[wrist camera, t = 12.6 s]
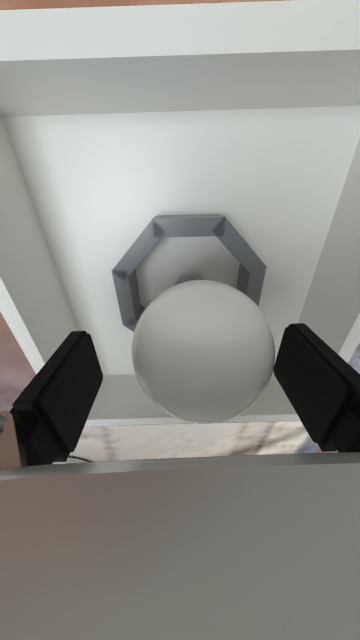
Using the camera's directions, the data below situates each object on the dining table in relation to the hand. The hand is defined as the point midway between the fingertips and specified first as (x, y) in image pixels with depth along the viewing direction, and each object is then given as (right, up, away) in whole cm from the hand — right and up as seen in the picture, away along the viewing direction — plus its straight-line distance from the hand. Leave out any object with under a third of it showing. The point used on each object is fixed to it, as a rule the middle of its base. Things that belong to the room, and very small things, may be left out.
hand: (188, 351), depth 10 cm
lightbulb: (0, +4, +6) cm, 8 cm away
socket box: (0, +5, +7) cm, 9 cm away
